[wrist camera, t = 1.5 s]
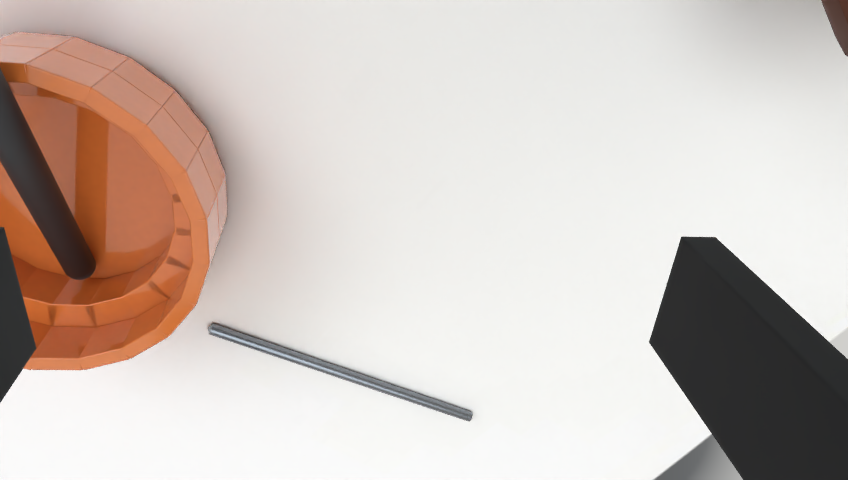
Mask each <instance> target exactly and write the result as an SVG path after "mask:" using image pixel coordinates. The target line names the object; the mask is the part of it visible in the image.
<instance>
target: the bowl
mask: <svg viewBox="0 0 848 480" xmlns="http://www.w3.org/2000/svg"><path fill="white" fill-rule="evenodd" d="M0 68H1V70H2V72H3V74H4V76H5V78H6V80H7V82H8V85H9V87H10V89H11V91H12V93H13V95H14V97H15V99H16V101H17V103H18V105H19V107H20V109H21V111H22V113H23V115H24V117H25V119H26V121H27V123H28V125H29V127H30V129H31V131H32V133H33V135H34V137H35V139H36V141H37V143H38V145H39V147H40V149H41V151H42V153H43V155H44V157H45V159H46V161H47V163H48V166H49V168H50V170H51V172H52V174H53V176H54V178H55V180H56V182H57V184H58V186H59V188H60V190H61V192H62V194H63V196H64V198H65V200H66V202H67V204H68V206H69V208H70V210H71V212H72V214H73V216H74V218H75V220H76V222H77V224H78V226H79V228H80V230H81V232H82V234H83V236H84V238H85V240H86V242H87V244H88V247H89V249H90V251H91V253H92V255H93V257H94V259H95V261H96V269H95V271H94V273H93V274H92V275H91V276H90V277H89V278H87V279H83V280H75V279H72V278H70V277H68V276H67V275H66V273H65V272H64V270H63V269H62V267H61V265H60V263H59V262H58V260H57V258H56V257H55V255H54V253H53V251H52V250H51V248H50V246H49V245H48V243H47V241H46V239H45V238H44V236H43V234H42V232H41V231H40V229H39V227H38V226H37V224H36V222H35V220H34V219H33V217H32V215H31V214H30V212H29V210H28V208H27V207H26V205H25V203H24V201H23V200H22V198H21V196H20V195H19V193H18V191H17V189H16V188H15V186H14V184H13V183H12V181H11V179H10V177H9V176H8V174H7V172H6V170H5V169H4V167H3V165H2V164H1V162H0V227H4V229H5V232H6V236H7V240H8V244H9V247H10V251H11V255H12V259H13V262H14V266H15V270H16V273H17V277H18V281H19V285H20V288H21V292H22V296H23V300H24V303H25V307H26V311H27V315H28V318H29V322H30V326H31V330H32V333H33V337H34V341H35V344H36V350H35V351H34V353H33V354H32V356H31V357H30V359H29V360H28V362H27V363H26V365H25V366H24V369H28V370H31V369H32V370H87V369H91V368H95V367H99V366H103V365H107V364H112V363H116V362H120V361H124V360H128V359H130V358H133V357H134V356H136V355H138V354H140V353H141V352H143V351H145V350H147V349H148V348H150V347H152V346H154V345H155V344H157V343H159V342H161V341H162V340H164V339H166V338H167V337H168V336H170V335H171V334H172V333H173V332H174V330H175V329H176V328H177V327H178V326H179V325H180V323H181V322H182V321H183V320H184V319H185V318H186V316H187V315H188V314H189V313H190V312H191V311H192V309H193V308H194V307H195V306H196V304H197V302H198V299H199V296H200V294H201V291H202V288H203V285H204V282H205V279H206V277H207V274H208V271H209V268H210V265H211V262H212V259H213V257H214V254H215V251H216V248H217V245H218V242H219V239H220V236H221V233H222V230H223V227H224V224H225V221H226V218H227V194H226V175H225V171H224V169H223V166H222V164H221V161H220V159H219V156H218V154H217V151H216V149H215V146H214V144H213V141H212V139H211V136H210V134H209V131H207V129H206V127H205V126H204V125H203V124H202V122H201V121H200V120H199V119H198V117H197V116H196V115H195V114H194V113H193V111H192V110H191V109H190V108H189V106H188V105H187V104H186V103H185V101H184V100H183V99H182V98H181V96H180V95H179V94H178V93H177V92H176V91H175V89H173V88H172V87H171V86H169V85H168V84H166V83H165V82H164V81H162V80H161V79H159V78H158V77H157V76H155V75H154V74H152V73H151V72H150V71H148V70H147V69H145V68H144V67H143V66H141V65H140V64H139V63H137V62H136V61H134V60H133V59H132V58H129V57H128V56H125V55H122V54H120V53H117V52H114V51H112V50H109V49H106V48H104V47H101V46H99V45H96V44H93V43H91V42H88V41H85V40H83V39H80V38H77V37H73V36H63V35H51V34H38V33H26V32H14V33H10V34H6V35H2V36H0Z"/></svg>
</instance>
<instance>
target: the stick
mask: <svg viewBox="0 0 848 480" xmlns="http://www.w3.org/2000/svg"><path fill="white" fill-rule="evenodd" d="M0 162H1V164H2V165H3V167H4V169H5V170H6V172H7V174H8V176H9V177H10V179H11V181H12V183H13V184H14V186H15V188H16V189H17V191H18V193H19V195H20V196H21V198H22V200H23V201H24V203H25V205H26V207H27V208H28V210H29V212H30V214H31V215H32V217H33V219H34V220H35V222H36V224H37V226H38V227H39V229H40V231H41V232H42V234H43V236H44V238H45V239H46V241H47V243H48V245H49V246H50V248H51V250H52V251H53V253H54V255H55V257H56V258H57V260H58V262H59V263H60V265H61V267H62V269H63V270H64V272H65V273H66V275H67V276H68V277H70V278H72V279H75V280H83V279H87V278H89V277H90V276H91V275H92V274H93V273H94V271H95V269H96V261H95V259H94V257H93V255H92V253H91V251H90V249H89V247H88V244H87V242H86V240H85V238H84V236H83V234H82V232H81V230H80V228H79V226H78V224H77V222H76V220H75V218H74V216H73V214H72V212H71V210H70V208H69V206H68V204H67V202H66V200H65V198H64V196H63V194H62V192H61V190H60V188H59V186H58V184H57V182H56V180H55V178H54V176H53V174H52V172H51V170H50V168H49V166H48V163H47V161H46V159H45V157H44V155H43V153H42V151H41V149H40V147H39V145H38V143H37V141H36V139H35V137H34V135H33V133H32V131H31V129H30V127H29V125H28V123H27V121H26V119H25V117H24V115H23V113H22V111H21V109H20V107H19V105H18V103H17V101H16V99H15V97H14V95H13V93H12V91H11V89H10V87H9V85H8V82H7V80H6V78H5V76H4V74H3V72H2V70H1V68H0Z"/></svg>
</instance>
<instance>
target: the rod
mask: <svg viewBox="0 0 848 480" xmlns="http://www.w3.org/2000/svg"><path fill="white" fill-rule="evenodd" d="M208 331H209V334H210V335H213V336H216V337H219V338H222V339H225V340H228V341H231V342H234V343H237V344H240V345H243V346H246V347H248V348H251V349H254V350H257V351H260V352H263V353H266V354H269V355H272V356H275V357H278V358H281V359H284V360H287V361H290V362H293V363H296V364H299V365H302V366H305V367H308V368H311V369H314V370H317V371H320V372H323V373H326V374H329V375H332V376H335V377H338V378H341V379H344V380H347V381H350V382H353V383H356V384H359V385H362V386H365V387H368V388H371V389H373V390H376V391H379V392H382V393H385V394H388V395H391V396H394V397H397V398H400V399H403V400H406V401H409V402H412V403H415V404H418V405H421V406H424V407H427V408H430V409H433V410H436V411H439V412H442V413H445V414H448V415H451V416H454V417H457V418H460V419H463V420H466V421H470V420H471V419H472V412H471V411H468V410H465V409H462V408H459V407H456V406H453V405H450V404H447V403H444V402H442V401H439V400H436V399H433V398H430V397H427V396H424V395H421V394H418V393H415V392H412V391H409V390H407V389H404V388H401V387H398V386H395V385H392V384H389V383H386V382H383V381H380V380H377V379H374V378H371V377H369V376H366V375H363V374H360V373H357V372H354V371H351V370H348V369H345V368H342V367H339V366H336V365H334V364H331V363H328V362H325V361H322V360H319V359H316V358H313V357H310V356H307V355H304V354H301V353H298V352H296V351H293V350H290V349H287V348H284V347H281V346H278V345H275V344H272V343H269V342H266V341H263V340H261V339H258V338H255V337H252V336H249V335H246V334H243V333H240V332H237V331H234V330H231V329H228V328H225V327H222V326H219V325H216V324H212V325H211V326H209V327H208Z"/></svg>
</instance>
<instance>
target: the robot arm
mask: <svg viewBox="0 0 848 480" xmlns="http://www.w3.org/2000/svg"><path fill="white" fill-rule="evenodd" d="M649 343H650V344H651V346H652V347H653V349H654V350H655V351H656V353H657V354H658V356H659V357H660V359H661V360H662V362H663V363H664V365H665V366H666V368H667V369H668V370H669V372H670V373H671V375H672V376H673V378H674V379H675V381H676V382H677V384H678V385H679V386H680V388H681V389H682V391H683V392H684V394H685V395H686V397H687V398H688V400H689V401H690V403H691V404H692V405H693V407H694V408H695V410H696V411H697V413H698V414H699V416H700V417H701V419H702V420H703V422H704V423H705V424H706V426H707V427H708V429H709V430H710V432H711V433H712V435H713V436H714V437H715V439H716V440H717V442H718V443H719V445H720V446H721V448H722V449H723V451H724V452H725V453H726V455H727V457H728V458H729V459H730V461H731V462H732V464H733V465H734V467H735V468H736V470H737V471H738V473H739V474H740V476H741V477H742V478H743V480H848V359H847V358H846V357H845V356H844V355H842V354H841V353H840V352H839V351H838V350H837V349H836V348H835V347H833V345H832V344H831V343H829V342H828V341H827V340H826V339H825V338H824V337H823V336H822V335H821V334H820V333H819V332H818V331H816V330H815V329H814V328H813V327H812V326H811V325H810V324H809V323H808V322H807V321H806V320H805V319H803V318H802V317H801V316H800V315H799V314H798V313H797V312H796V311H795V310H794V309H793V308H791V307H790V306H789V305H788V304H787V303H786V302H785V301H784V300H783V299H782V298H781V297H780V296H778V295H777V294H776V293H775V292H774V291H773V290H772V289H771V288H770V287H769V286H768V285H767V284H765V283H764V282H763V281H762V280H761V279H760V278H759V277H758V276H757V275H756V274H755V273H754V272H752V271H751V270H750V269H749V268H748V267H747V266H746V265H745V264H744V263H743V262H742V261H740V260H739V259H738V258H737V257H736V256H735V255H734V254H733V253H732V252H731V251H730V250H729V249H727V248H726V247H725V246H724V245H723V244H722V243H721V242H720V241H719V240H718V239H717V238H716V237H681V240H680V243H679V247H678V250H677V253H676V256H675V260H674V263H673V266H672V269H671V273H670V276H669V279H668V282H667V286H666V289H665V292H664V296H663V299H662V302H661V305H660V309H659V312H658V315H657V318H656V322H655V325H654V328H653V331H652V335H651V338H650V341H649ZM35 350H36V344H35V341H34V337H33V333H32V330H31V326H30V322H29V318H28V315H27V311H26V307H25V303H24V300H23V296H22V292H21V288H20V285H19V281H18V277H17V273H16V270H15V266H14V262H13V259H12V255H11V251H10V247H9V244H8V240H7V236H6V232H5V229H4V227H0V402H1V401H2V399H3V398H4V396H5V395H6V393H7V392H8V390H9V389H10V387H11V386H12V384H13V383H14V381H15V380H16V378H17V377H18V375H19V374H20V372H21V371H22V369H23V368H24V366H25V365H26V363H27V362H28V360H29V359H30V357H31V356H32V354H33V353H34V351H35Z"/></svg>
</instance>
